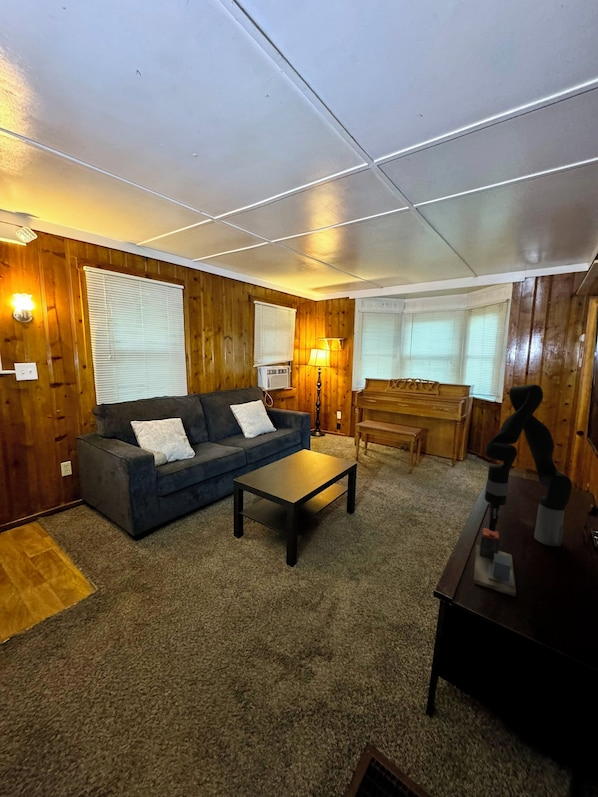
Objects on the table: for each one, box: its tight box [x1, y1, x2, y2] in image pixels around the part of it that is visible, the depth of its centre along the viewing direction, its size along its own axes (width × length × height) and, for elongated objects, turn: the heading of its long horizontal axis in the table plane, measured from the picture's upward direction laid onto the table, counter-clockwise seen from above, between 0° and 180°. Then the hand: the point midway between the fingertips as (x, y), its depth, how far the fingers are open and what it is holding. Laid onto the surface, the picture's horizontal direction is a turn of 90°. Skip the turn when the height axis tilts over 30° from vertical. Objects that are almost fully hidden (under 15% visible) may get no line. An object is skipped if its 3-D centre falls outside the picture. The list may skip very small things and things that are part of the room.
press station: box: [473, 529, 517, 598], centre depth 126 cm, size 13×25×10 cm, turn 150°
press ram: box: [482, 527, 500, 542], centre depth 133 cm, size 6×6×7 cm
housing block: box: [493, 553, 511, 581], centre depth 122 cm, size 5×6×6 cm
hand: (491, 530), depth 132 cm, fingers closed
